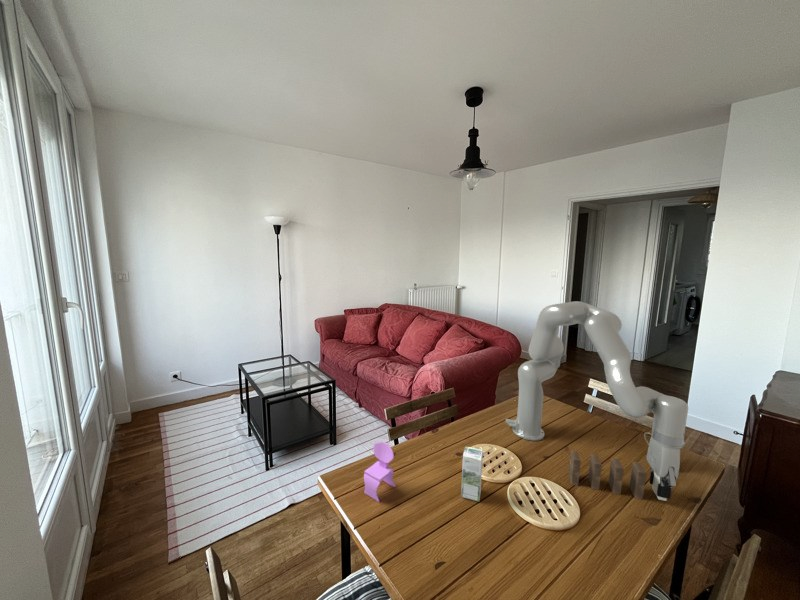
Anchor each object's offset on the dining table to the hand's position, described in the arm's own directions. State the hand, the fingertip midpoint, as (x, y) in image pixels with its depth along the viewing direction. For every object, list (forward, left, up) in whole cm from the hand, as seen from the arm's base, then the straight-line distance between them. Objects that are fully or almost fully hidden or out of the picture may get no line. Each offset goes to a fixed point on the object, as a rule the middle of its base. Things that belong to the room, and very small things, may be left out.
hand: (659, 490), depth 102 cm
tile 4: (-24, 0, -3) cm, 24 cm away
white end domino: (0, 0, -1) cm, 1 cm away
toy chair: (-84, -26, -3) cm, 88 cm away
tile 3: (-18, 0, -3) cm, 18 cm away
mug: (+8, +21, -3) cm, 23 cm away
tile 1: (-6, 0, -3) cm, 7 cm away
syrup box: (-56, -18, -3) cm, 59 cm away
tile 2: (-12, 0, -3) cm, 12 cm away
